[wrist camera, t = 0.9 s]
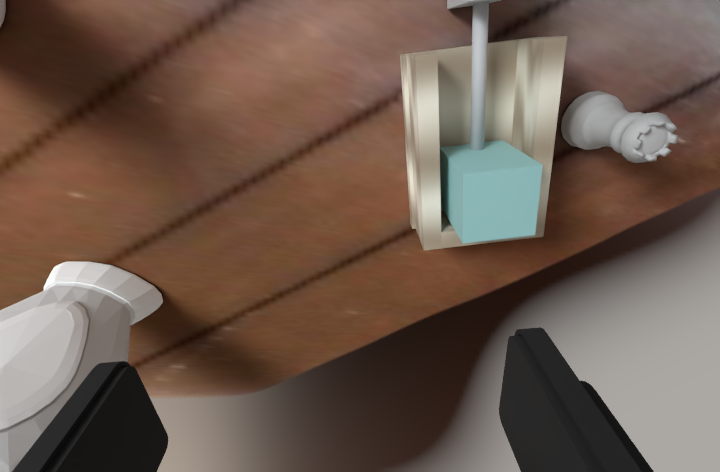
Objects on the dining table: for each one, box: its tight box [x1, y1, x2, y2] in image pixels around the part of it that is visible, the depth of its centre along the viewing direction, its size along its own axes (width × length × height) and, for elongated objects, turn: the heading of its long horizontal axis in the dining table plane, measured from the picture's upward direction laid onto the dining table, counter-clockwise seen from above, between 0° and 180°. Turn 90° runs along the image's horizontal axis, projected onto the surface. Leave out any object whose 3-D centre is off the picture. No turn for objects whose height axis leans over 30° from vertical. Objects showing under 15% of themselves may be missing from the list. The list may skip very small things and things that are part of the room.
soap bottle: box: [0, 262, 163, 472], centre depth 26 cm, size 13×8×24 cm, turn 68°
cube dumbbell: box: [440, 0, 543, 243], centre depth 26 cm, size 18×5×8 cm, turn 6°
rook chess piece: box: [561, 91, 679, 163], centre depth 27 cm, size 4×4×8 cm
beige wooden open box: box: [400, 36, 567, 250], centre depth 29 cm, size 14×10×5 cm
